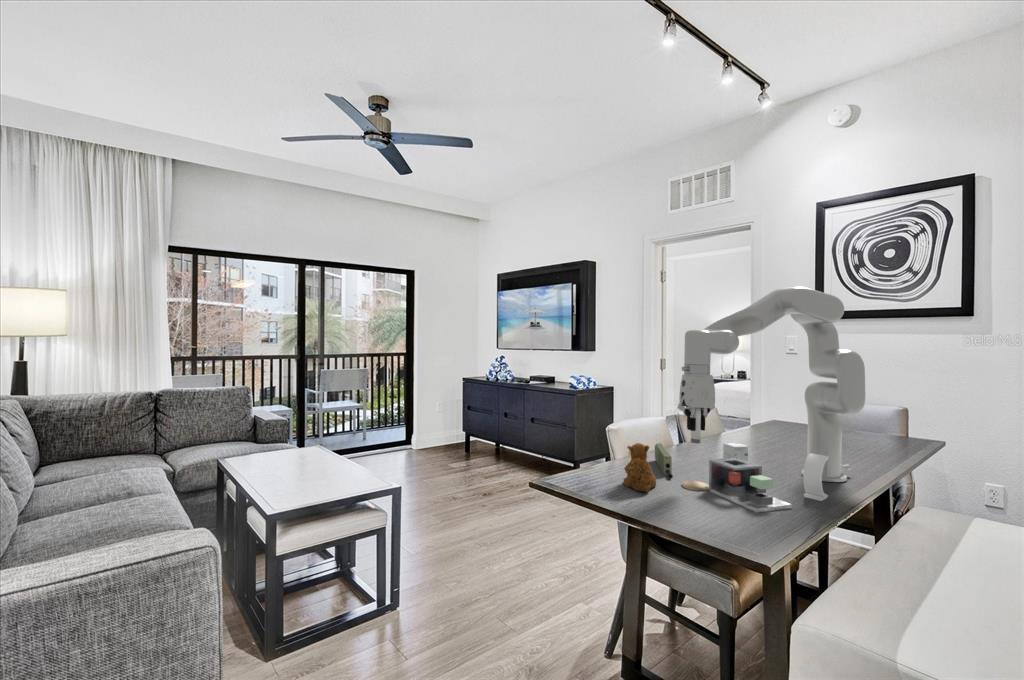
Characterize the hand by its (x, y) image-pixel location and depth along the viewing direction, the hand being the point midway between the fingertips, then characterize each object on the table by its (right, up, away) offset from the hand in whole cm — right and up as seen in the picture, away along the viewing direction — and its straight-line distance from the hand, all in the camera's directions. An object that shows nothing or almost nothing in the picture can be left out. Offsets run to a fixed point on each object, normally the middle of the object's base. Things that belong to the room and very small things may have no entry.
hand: (696, 429), depth 150 cm
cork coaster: (0, -18, 0) cm, 18 cm away
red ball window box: (+11, -18, -10) cm, 23 cm away
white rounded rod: (0, -4, 0) cm, 4 cm away
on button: (+12, -14, -15) cm, 24 cm away
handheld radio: (-4, -18, +20) cm, 27 cm away
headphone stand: (+31, -18, -9) cm, 37 cm away
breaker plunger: (+9, -16, -6) cm, 20 cm away
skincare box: (+24, -18, +27) cm, 40 cm away
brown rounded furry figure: (-18, -18, -1) cm, 25 cm away
